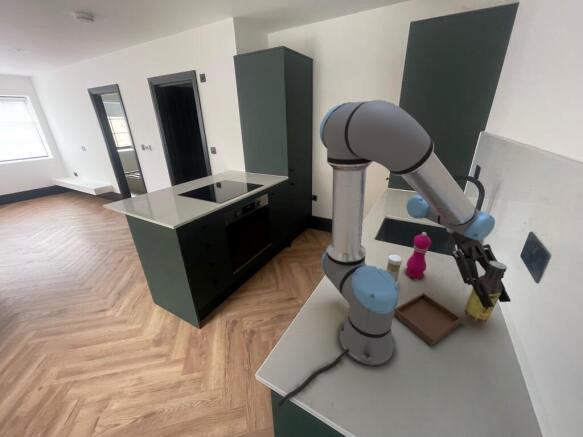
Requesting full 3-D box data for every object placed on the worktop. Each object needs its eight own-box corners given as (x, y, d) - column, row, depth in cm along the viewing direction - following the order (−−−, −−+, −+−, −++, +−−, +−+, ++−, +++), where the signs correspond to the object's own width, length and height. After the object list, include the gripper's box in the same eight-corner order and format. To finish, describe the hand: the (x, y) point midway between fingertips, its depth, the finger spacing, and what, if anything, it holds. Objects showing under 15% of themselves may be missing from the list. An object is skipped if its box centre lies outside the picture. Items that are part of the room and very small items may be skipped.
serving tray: (431, 346, 67) (433, 339, 66) (393, 314, 78) (394, 308, 76) (460, 324, 74) (462, 318, 72) (421, 298, 84) (423, 292, 83)
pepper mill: (426, 280, 93) (438, 237, 85) (407, 278, 94) (417, 235, 86) (420, 269, 100) (431, 228, 91) (402, 268, 101) (412, 227, 93)
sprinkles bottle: (390, 281, 93) (395, 253, 88) (398, 288, 89) (405, 259, 84) (380, 283, 92) (386, 255, 86) (389, 291, 88) (395, 262, 82)
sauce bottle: (480, 327, 70) (505, 274, 62) (459, 312, 75) (479, 262, 67) (491, 318, 73) (516, 267, 64) (470, 305, 78) (490, 256, 69)
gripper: (448, 230, 69) (485, 311, 61) (494, 222, 74) (534, 296, 66) (429, 237, 76) (460, 311, 68) (473, 229, 81) (506, 297, 73)
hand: (496, 304), depth 67 cm, fingers closed on sauce bottle, 6 cm apart
